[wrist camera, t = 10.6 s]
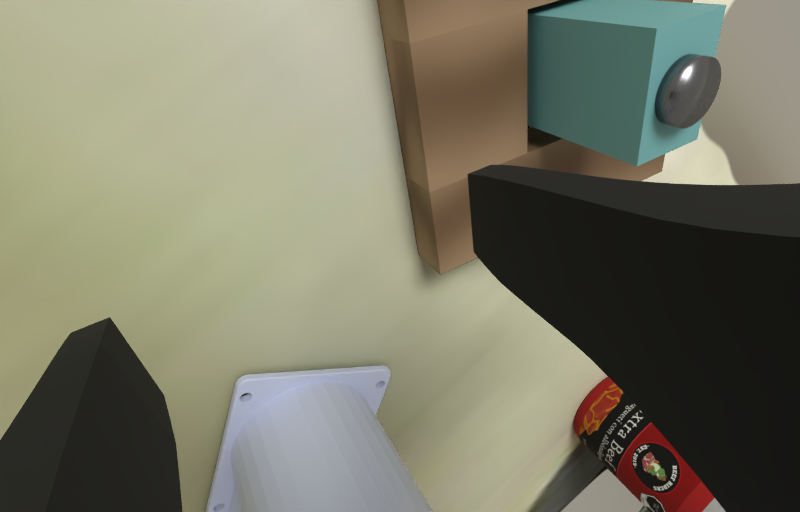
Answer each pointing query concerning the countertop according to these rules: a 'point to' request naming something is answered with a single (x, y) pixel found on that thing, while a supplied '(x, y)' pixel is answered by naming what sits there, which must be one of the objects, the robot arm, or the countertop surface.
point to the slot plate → (470, 112)
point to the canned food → (639, 453)
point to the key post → (623, 73)
